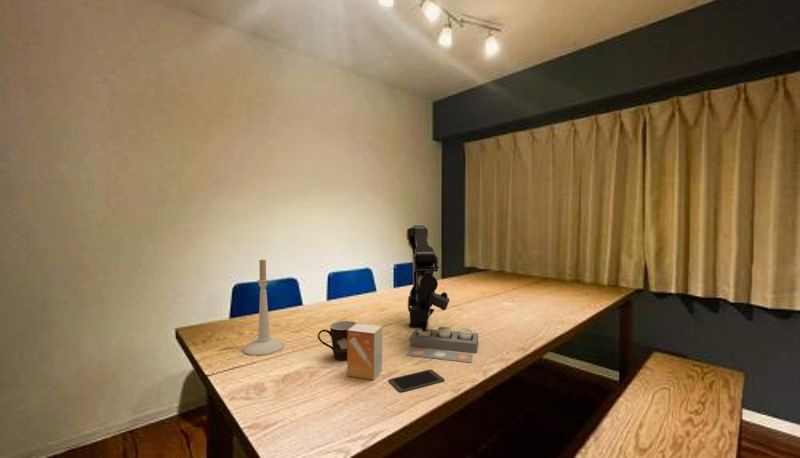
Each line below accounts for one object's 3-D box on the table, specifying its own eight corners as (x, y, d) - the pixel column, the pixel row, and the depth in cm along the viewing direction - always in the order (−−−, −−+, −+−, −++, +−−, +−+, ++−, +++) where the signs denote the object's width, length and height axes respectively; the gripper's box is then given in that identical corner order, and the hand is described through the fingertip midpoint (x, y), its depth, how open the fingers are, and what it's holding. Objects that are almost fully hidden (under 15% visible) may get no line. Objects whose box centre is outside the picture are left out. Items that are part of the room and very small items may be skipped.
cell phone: (446, 382, 93) (446, 379, 93) (399, 394, 87) (399, 391, 87) (431, 371, 100) (431, 368, 100) (387, 382, 94) (387, 379, 94)
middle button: (437, 339, 118) (437, 330, 118) (439, 335, 122) (439, 326, 122) (450, 341, 117) (450, 331, 117) (451, 336, 121) (451, 327, 121)
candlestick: (236, 348, 116) (234, 258, 114) (273, 338, 125) (271, 255, 124) (253, 359, 107) (251, 262, 106) (291, 347, 116) (290, 258, 115)
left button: (416, 341, 120) (416, 332, 120) (419, 337, 124) (419, 328, 124) (429, 343, 119) (429, 333, 119) (431, 338, 123) (431, 329, 123)
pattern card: (406, 355, 110) (406, 354, 110) (411, 348, 116) (411, 347, 116) (471, 362, 104) (471, 361, 104) (472, 355, 110) (472, 353, 110)
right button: (457, 341, 116) (457, 332, 116) (459, 337, 120) (459, 327, 120) (471, 343, 115) (471, 333, 115) (472, 338, 119) (472, 329, 119)
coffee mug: (362, 353, 112) (362, 322, 111) (350, 364, 104) (350, 331, 103) (330, 348, 116) (330, 318, 115) (316, 359, 107) (315, 326, 107)
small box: (347, 376, 96) (346, 329, 95) (356, 366, 102) (356, 322, 101) (374, 380, 93) (374, 332, 93) (382, 370, 100) (382, 325, 99)
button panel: (409, 345, 118) (409, 337, 118) (416, 335, 128) (416, 327, 127) (476, 353, 112) (476, 343, 112) (478, 341, 121) (478, 333, 121)
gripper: (443, 294, 110) (443, 342, 110) (451, 282, 128) (451, 324, 128) (409, 291, 113) (409, 339, 113) (421, 280, 131) (421, 322, 131)
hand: (424, 330), depth 121 cm, fingers closed, pressing on left button
